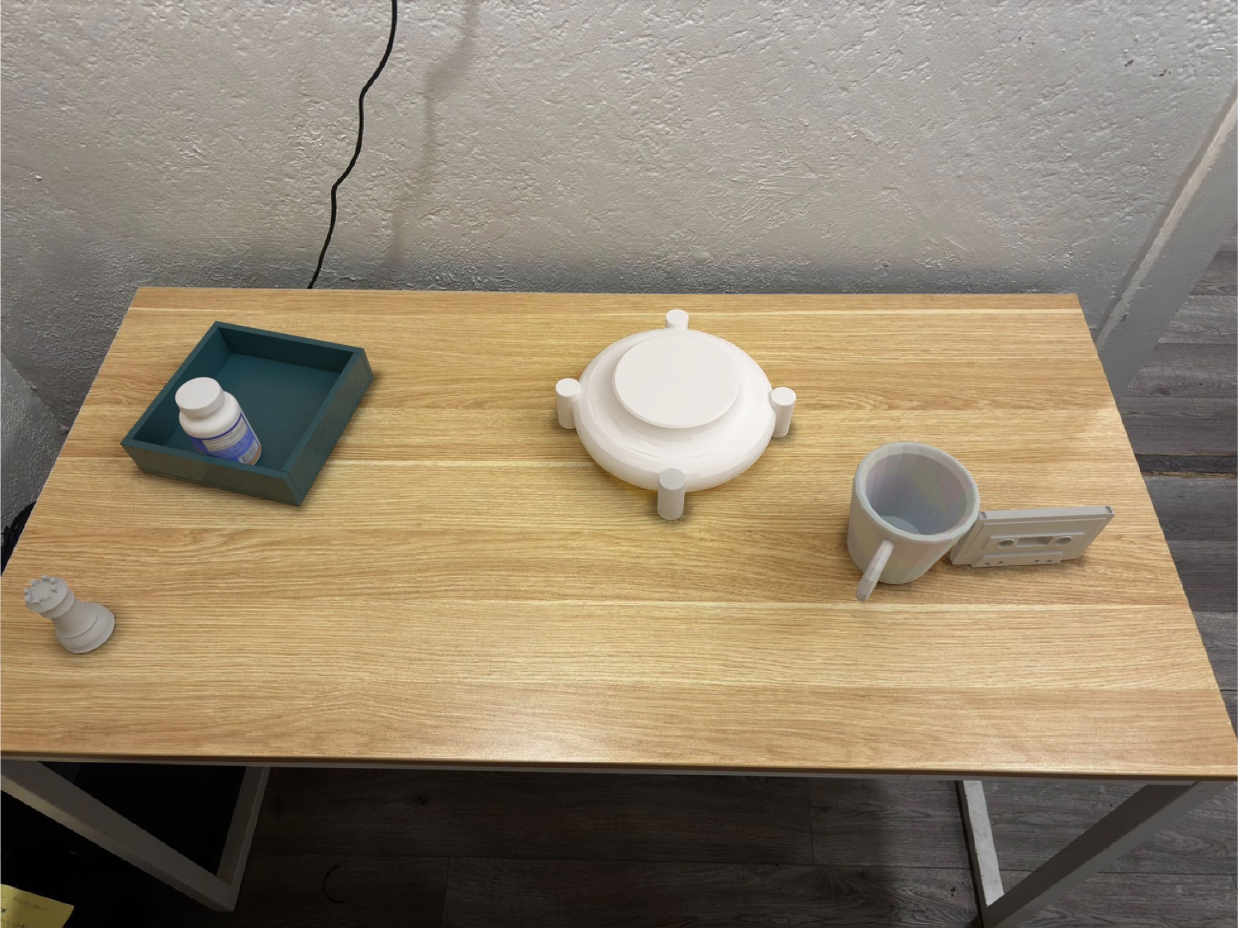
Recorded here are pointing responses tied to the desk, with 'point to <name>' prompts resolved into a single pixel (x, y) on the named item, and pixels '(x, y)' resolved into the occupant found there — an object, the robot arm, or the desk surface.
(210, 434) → the pill bottle
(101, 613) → the rook chess piece
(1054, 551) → the cassette
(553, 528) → the desk surface
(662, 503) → the round stand with pegs
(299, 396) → the shallow teal tray
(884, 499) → the mug
